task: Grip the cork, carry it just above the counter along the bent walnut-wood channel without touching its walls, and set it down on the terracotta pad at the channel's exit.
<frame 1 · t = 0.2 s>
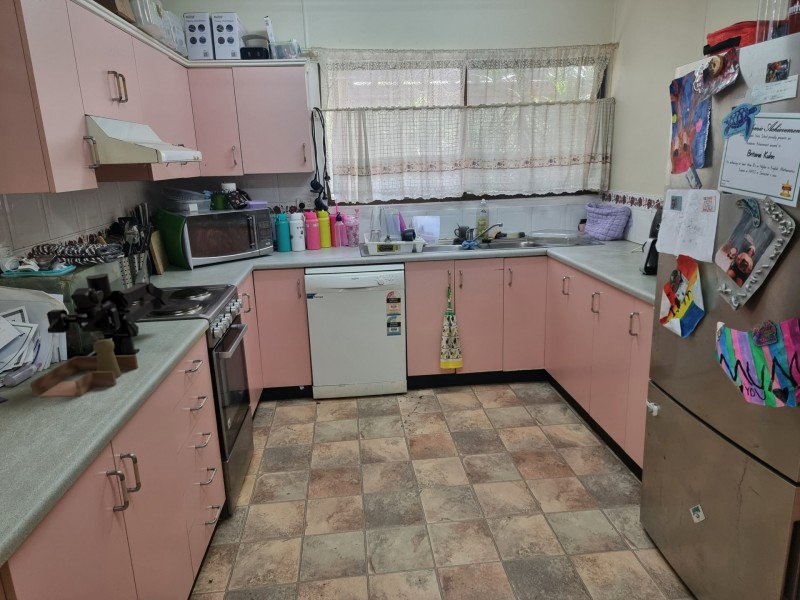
hand: (65, 330, 139), 17 cm above the worktop, tool horizontal, fingers open, 9 cm apart
bent channel: (89, 381, 147), on the worktop
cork: (109, 377, 150), on the worktop
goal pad: (68, 389, 143), on the worktop
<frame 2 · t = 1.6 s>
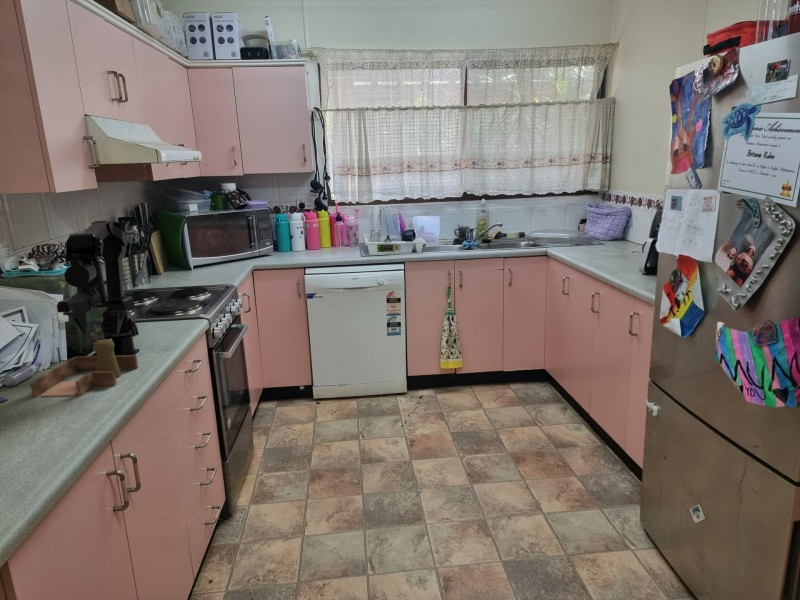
hand: (101, 333, 147), 13 cm above the worktop, tool pointing down, fingers open, 9 cm apart
nothing on the worktop moved.
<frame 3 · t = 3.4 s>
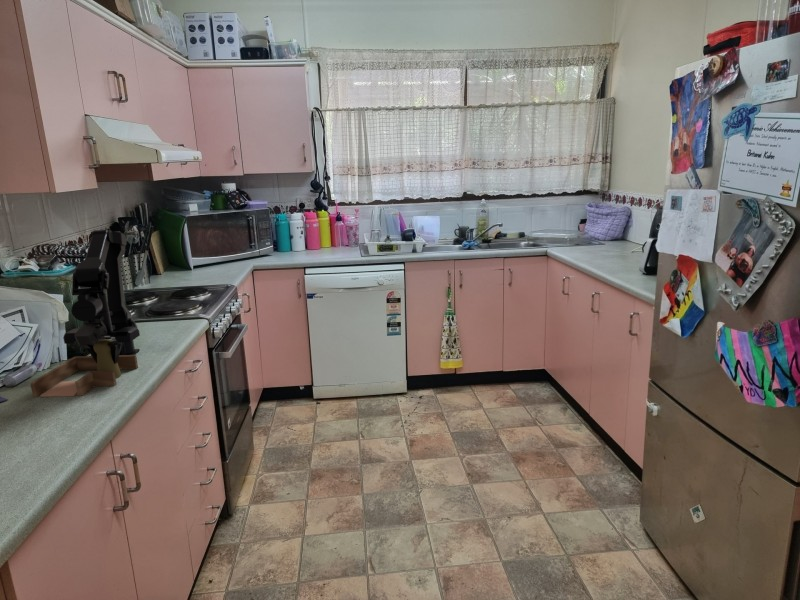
hand: (107, 363, 149), 4 cm above the worktop, tool pointing down, fingers closed on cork, 4 cm apart
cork: (109, 377, 150), on the worktop, touching gripper
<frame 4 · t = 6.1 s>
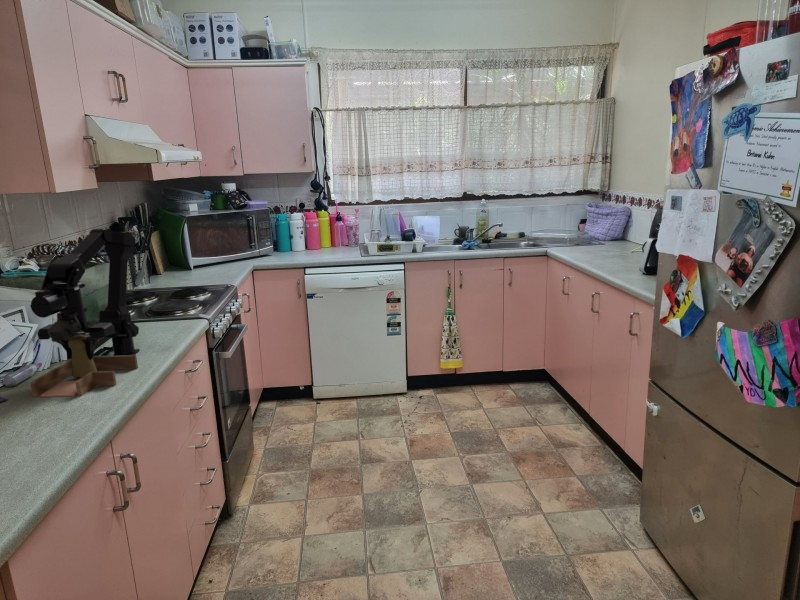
hand: (82, 359, 149), 5 cm above the worktop, tool pointing down, fingers closed on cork, 4 cm apart
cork: (85, 373, 150), point 1 cm above the worktop, touching gripper
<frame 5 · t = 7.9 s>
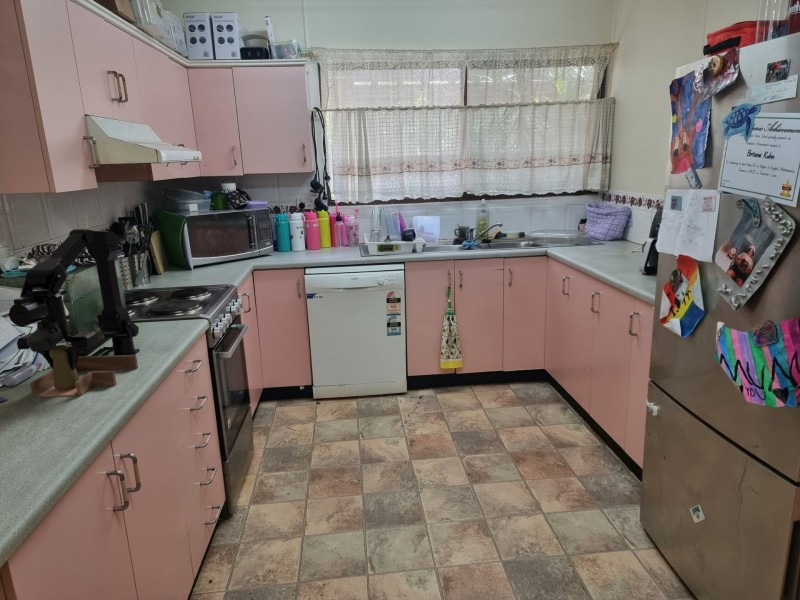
hand: (64, 370, 141), 5 cm above the worktop, tool pointing down, fingers closed on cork, 4 cm apart
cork: (67, 384, 142), point 1 cm above the worktop, touching gripper
when the fingers open (5 cm above the worktop, at t = 9.0 s): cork stays where it is, resting on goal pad.
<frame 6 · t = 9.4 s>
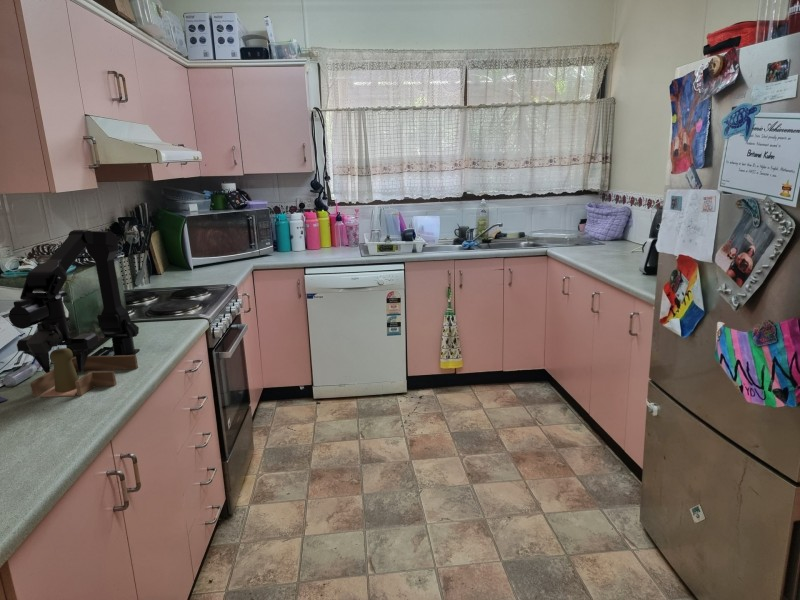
hand: (64, 372, 141), 5 cm above the worktop, tool pointing down, fingers open, 9 cm apart
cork: (68, 388, 143), resting on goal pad
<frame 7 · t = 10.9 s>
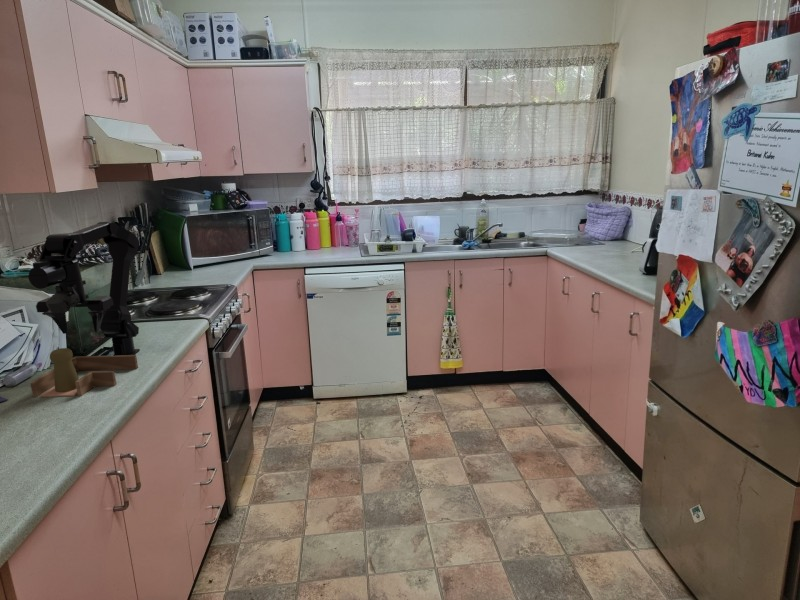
hand: (81, 332, 149), 13 cm above the worktop, tool pointing down, fingers open, 9 cm apart
nothing on the worktop moved.
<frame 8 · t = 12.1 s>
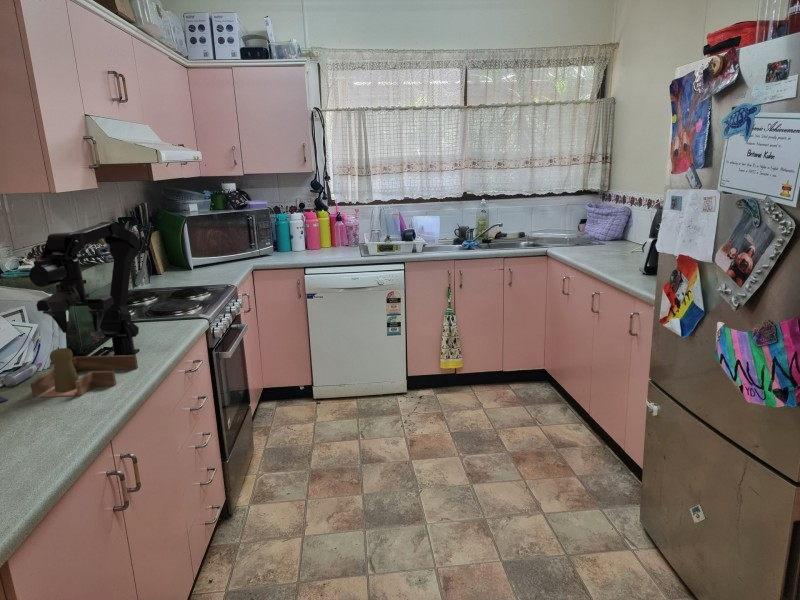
hand: (81, 332, 149), 13 cm above the worktop, tool pointing down, fingers open, 9 cm apart
nothing on the worktop moved.
at the end: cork 0.1 cm from the target spot, resting on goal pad; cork touching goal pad; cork tilted 0° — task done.
